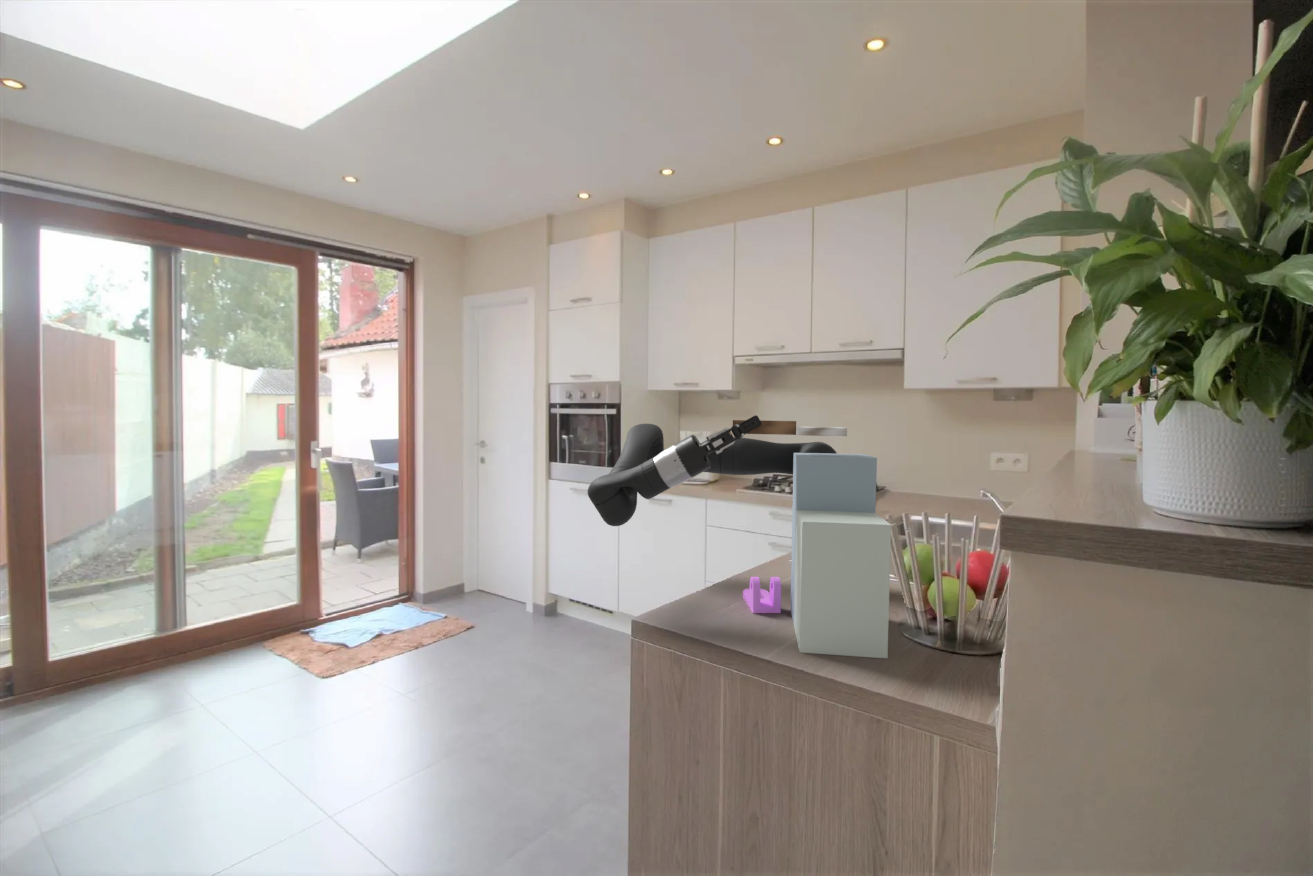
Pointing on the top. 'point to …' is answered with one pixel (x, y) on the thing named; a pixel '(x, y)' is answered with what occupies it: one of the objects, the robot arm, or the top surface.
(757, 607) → the bracket
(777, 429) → the turner
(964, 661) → the top surface
